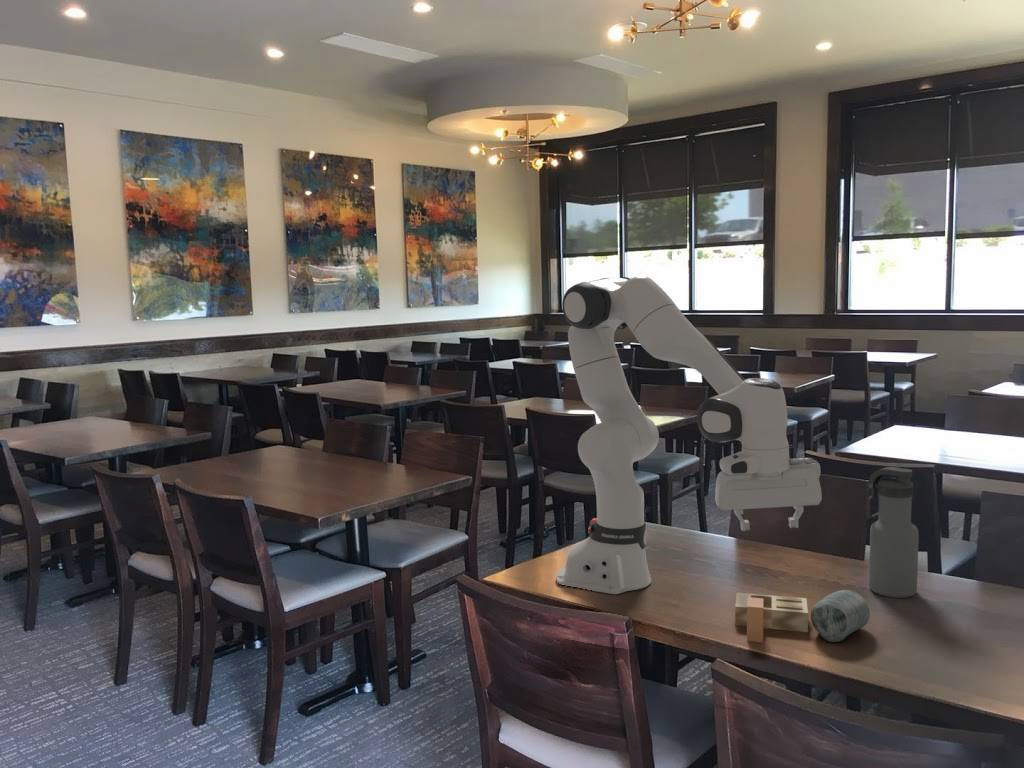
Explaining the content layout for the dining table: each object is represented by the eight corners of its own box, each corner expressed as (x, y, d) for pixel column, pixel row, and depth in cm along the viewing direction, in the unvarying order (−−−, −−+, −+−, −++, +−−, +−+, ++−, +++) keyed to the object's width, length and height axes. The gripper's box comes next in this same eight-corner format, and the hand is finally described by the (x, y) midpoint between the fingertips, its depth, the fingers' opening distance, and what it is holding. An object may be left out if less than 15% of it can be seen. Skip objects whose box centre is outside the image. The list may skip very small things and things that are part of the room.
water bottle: (859, 590, 182) (861, 468, 179) (879, 579, 189) (882, 462, 186) (904, 602, 175) (908, 476, 172) (924, 591, 181) (928, 468, 178)
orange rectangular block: (747, 640, 158) (747, 606, 157) (747, 630, 162) (747, 597, 162) (763, 642, 157) (763, 607, 156) (763, 632, 161) (763, 598, 161)
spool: (848, 638, 150) (834, 584, 154) (805, 646, 157) (793, 594, 161) (888, 637, 158) (874, 585, 162) (846, 644, 165) (833, 595, 169)
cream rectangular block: (735, 625, 165) (735, 605, 165) (736, 610, 173) (736, 591, 172) (807, 632, 161) (808, 611, 160) (806, 616, 168) (806, 596, 168)
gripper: (815, 454, 161) (818, 521, 163) (711, 460, 163) (715, 527, 164) (824, 460, 155) (827, 530, 156) (717, 466, 157) (721, 536, 158)
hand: (769, 528), depth 160 cm, fingers open, 8 cm apart
